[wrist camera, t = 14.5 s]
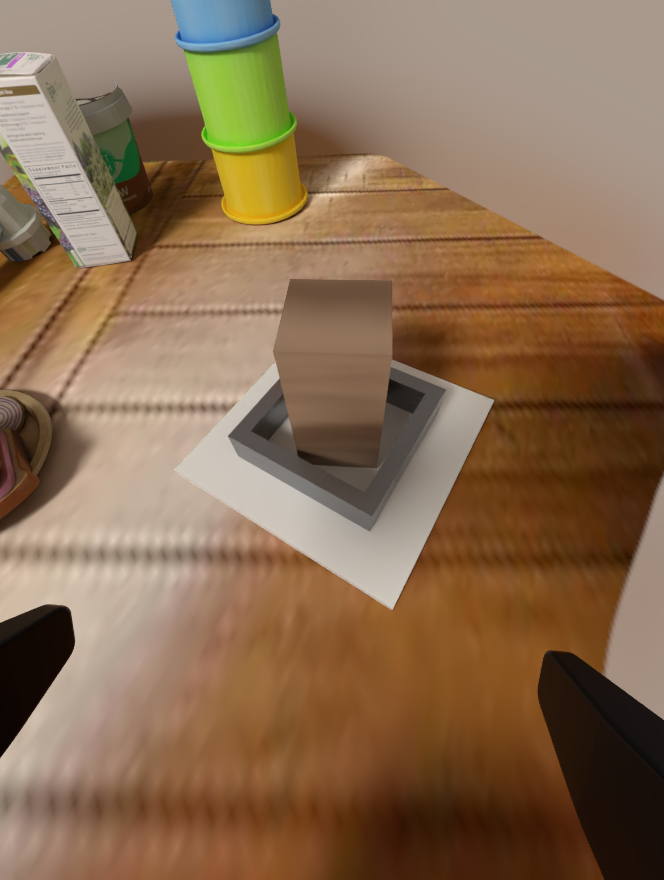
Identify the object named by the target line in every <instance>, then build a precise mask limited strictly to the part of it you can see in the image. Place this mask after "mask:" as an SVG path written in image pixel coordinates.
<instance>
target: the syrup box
mask: <svg viewBox="0 0 664 880" xmlns="http://www.w3.org/2000/svg"><path fill="white" fill-rule="evenodd" d="M0 152H1V153H2V155H3V156H4V158H5V159H6V161H7V163H8V164H9V166H10V167H11V169H12V170H13V172H14V173H15V175H16V176H17V178H18V179H19V181H20V182H21V184H22V185H23V187H24V189H25V190H26V192H27V193H28V195H29V196H30V198H31V199H32V201H33V202H34V204H35V205H36V207H37V208H38V210H39V211H40V213H41V214H42V216H43V217H44V219H45V220H46V222H47V223H48V225H49V226H50V228H51V230H52V231H53V233H54V234H55V236H56V237H57V239H58V240H59V242H60V243H61V245H62V246H63V248H64V249H65V251H66V252H67V254H68V255H69V257H70V259H71V260H72V262H73V263H74V265H75V266H76V267H78V268H82V267H90V266H98V265H106V264H113V263H119V262H126V261H131V259H132V255H133V250H134V246H135V242H136V238H137V230H136V228H135V226H134V223H133V221H132V219H131V217H130V215H129V213H128V211H127V208H126V206H125V204H124V202H123V200H122V198H121V196H120V194H119V191H118V189H117V187H116V185H115V183H114V180H113V178H112V176H111V174H110V172H109V170H108V168H107V165H106V163H105V161H104V159H103V157H102V155H101V152H100V150H99V148H98V146H97V144H96V142H95V140H94V137H93V135H92V133H91V131H90V129H89V127H88V125H87V123H86V120H85V118H84V116H83V114H82V112H81V110H80V108H79V105H78V103H77V101H76V99H75V97H74V95H73V93H72V91H71V88H70V86H69V85H68V82H67V80H66V78H65V76H64V73H63V71H62V69H61V67H60V65H59V63H58V60H57V58H56V56H53V55H52V54H43V53H28V52H27V53H26V52H20V53H6V54H0Z"/></svg>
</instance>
